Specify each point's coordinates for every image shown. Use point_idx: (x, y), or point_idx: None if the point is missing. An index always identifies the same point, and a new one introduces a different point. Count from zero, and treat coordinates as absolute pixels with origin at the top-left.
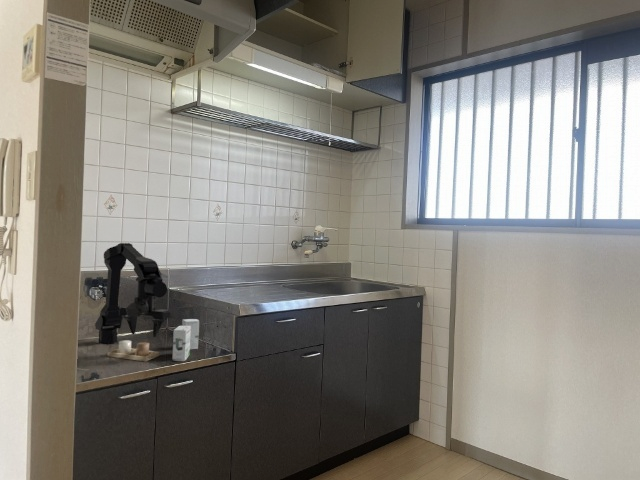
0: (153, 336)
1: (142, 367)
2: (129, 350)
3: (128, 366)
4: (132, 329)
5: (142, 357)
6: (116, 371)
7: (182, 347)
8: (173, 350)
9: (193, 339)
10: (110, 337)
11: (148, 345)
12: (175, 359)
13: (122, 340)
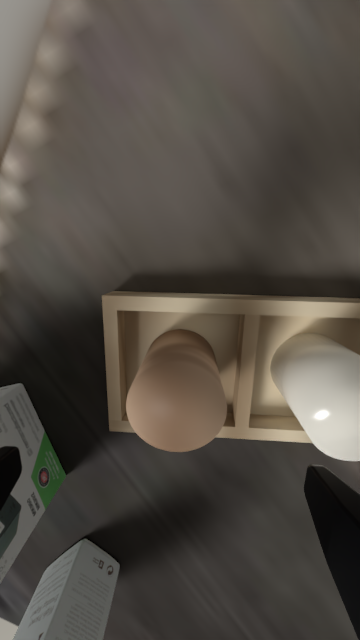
0: (10, 448)
1: (72, 204)
2: (281, 376)
3: (157, 185)
4: (353, 525)
5: (127, 295)
6: (155, 41)
7: None
8: None
9: (23, 633)
10: None
11: (129, 406)
12: (1, 389)
13: None
